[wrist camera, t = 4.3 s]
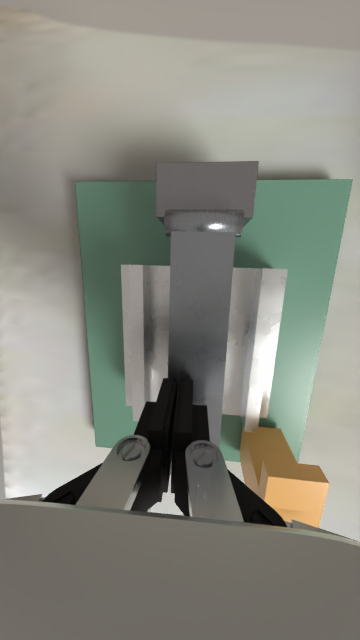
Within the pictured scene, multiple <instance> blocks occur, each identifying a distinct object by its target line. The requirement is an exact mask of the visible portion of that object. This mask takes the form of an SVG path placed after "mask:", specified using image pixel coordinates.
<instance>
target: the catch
mask: <svg viewBox="0 0 360 640" xmlns="http://www.w3.org/2000/svg"><path fill="white" fill-rule="evenodd" d="M239 456H240V461H241V466H242V471H243V476H244V481H245V485H246V486H247V487H249V488H250V489H251V490H252V491H253V492H254V493H256V494H257V495H258V496H259V497H260V498H261V499H263V500H264V501H265V502H266V503H267V504H268V505H270V506H271V507H272V508H273V509H274V510H275V511H276V512H277V513H278V514H279V515H280V516H281V517H282V518H283V520H284V521H287V522H290V523H291V519H293V520H296V521H299V522H302V523H305V524H308V525H311V526H314V527H317V528H319V524H320V520H321V516H322V512H323V508H324V503H325V499H326V495H327V491H328V487H329V482H328V480H327V479H326V477H325V475H324V474H323V472H322V470H321V468H320V467H319V466H316V465H306V464H298V463H297V461H296V459H295V457H294V455H293V453H292V451H291V449H290V447H289V445H288V443H287V441H286V439H285V437H284V435H283V433H282V431H281V429H279V428H268V427H258V431H257V433H255V432H245V431H244V428H243V427H242V436H241V445H240V454H239Z"/></svg>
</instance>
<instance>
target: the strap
mask: <svg viewBox="0 0 360 640" xmlns="http://www.w3.org/2000/svg"><path fill="white" fill-rule="evenodd" d="M243 226H244V210H199V209H166V210H165V215H164V228H165V235H166V236H171V256H170V300H169V344H168V378H171V379H173V381H177V396H178V389H179V382H183V380H184V379H188V380H193V404H194V405H207V411H208V423H209V436H210V442H212V443H213V444H215V445H216V446H217V447H218V448H219V444H220V431H221V418H222V405H223V392H224V379H225V366H226V353H227V340H228V327H229V313H230V300H231V287H232V274H233V261H234V248H235V237H241V235H242V232H243ZM176 403H177V400H176ZM171 466H172V461H171ZM170 474H171V469H170Z"/></svg>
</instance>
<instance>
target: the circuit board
mask: <svg viewBox="0 0 360 640" xmlns="http://www.w3.org/2000/svg"><path fill="white" fill-rule="evenodd" d="M352 180H353V179H321V180H257V183H256V193H255V203H254V213H253V218H252V219H251V220H250V221H249V222H248V223H247V224H246V225H245V226H244V227H243V232H242V235H241V237H235V248H234V261H233V268H271V269H288V272H287V279H286V286H285V293H284V300H283V307H282V314H281V321H280V328H279V335H278V342H277V350H276V357H275V364H274V371H273V378H272V385H271V392H270V399H269V406H268V413H267V418H261V417H259V424H258V427H268V428H279V429H281V431H282V433H283V435H284V437H285V439H286V441H287V443H288V445H289V447H290V449H291V451H292V453H293V455H294V457H295V459H296V461H297V463H298V461H299V456H300V451H301V445H302V440H303V435H304V430H305V425H306V419H307V414H308V409H309V404H310V399H311V393H312V388H313V383H314V378H315V373H316V367H317V362H318V357H319V352H320V347H321V341H322V336H323V331H324V326H325V321H326V315H327V310H328V305H329V300H330V295H331V289H332V284H333V279H334V274H335V269H336V264H337V258H338V253H339V248H340V243H341V238H342V232H343V227H344V222H345V217H346V212H347V206H348V201H349V196H350V191H351V186H352ZM75 188H76V200H77V213H78V226H79V239H80V251H81V264H82V277H83V290H84V302H85V315H86V328H87V341H88V353H89V366H90V379H91V392H92V405H93V417H94V430H95V443H96V447H106V448H113V447H114V446H115V444H116V443H117V442H118V441H119V440H121V439H122V438H124V437H126V436H130V435H134V432H135V429H136V427H137V424H138V421H133V407H132V406H126V392H125V365H124V338H123V310H122V283H121V265H152V266H170V256H171V236H166V235H165V228H164V225H163V224H162V223H161V221H160V220H159V219H158V218H157V217H156V181H101V182H75ZM242 427H243V425H242V421H241V417H240V416H238V415H227V414H222V418H221V431H220V444H219V449H220V450H221V452H222V454H223V458H224V460H226V461H235V462H241V461H240V456H239V454H240V445H241V436H242Z"/></svg>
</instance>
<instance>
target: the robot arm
mask: <svg viewBox="0 0 360 640" xmlns="http://www.w3.org/2000/svg"><path fill="white" fill-rule="evenodd" d="M176 400H177V403H176ZM171 461H172V466H171ZM170 469H171V493H175V503H176V505H177V506H178V507H179V509H180V510H181V511H182V512H183V516H181V515H171V514H162V513H152V512H150V511H151V507H152V506H153V505H154V504H155V503H157V502H161V500H162V494H163V492H166V493H167V491H168V484H169V476H170ZM0 640H360V542H358V541H356V540H353V539H350V538H347V537H344V536H341V535H338V534H335V533H332V532H329V531H326V530H323V529H320V528H317V527H314V526H311V525H308V524H305V523H302V522H299V521H296V520H293V519H291V523H290V522H287V521H284V520H283V518H282V517H281V516H280V515H279V514H278V513H277V512H276V511H275V510H274V509H273V508H272V507H271V506H270V505H268V504H267V503H266V502H265V501H264V500H263V499H261V498H260V497H259V496H258V495H257V494H256V493H254V492H253V491H252V490H251V489H250V488H249V487H247V486H246V485H245V484H244V483H243V482H242V481H240V480H239V479H238V478H237V477H236V476H235V475H233V474H232V473H231V472H230V471H229V470H228V469H227V467H226V464H225V461H224V458H223V454H222V452H221V450H220V449H219V448H218V447H217V446H216V445H215V444H213V443H212V442H210V436H209V423H208V411H207V405H194V404H193V380H188V379H184V380H183V382H179V389H178V396H177V381H173V379H171V378H163V381H162V384H161V387H160V391H159V394H158V397H157V400H156V402H150V401H147V402H146V403H145V406H144V408H143V411H142V413H141V416H140V419H139V421H138V424H137V427H136V429H135V432H134V435H130V436H126V437H124V438H122V439H121V440H119V441H118V442H117V443H116V444H115V446H114V447H113V449H112V450H111V452H110V453H109V455H108V456H107V458H106V459H105V461H104V462H103V463H101V464H100V465H98V466H96V467H94V468H93V469H91V470H89V471H87V472H86V473H84V474H82V475H80V476H78V477H77V478H75V479H73V480H71V481H70V482H68V483H66V484H64V485H63V486H61V487H59V488H57V489H56V490H54V491H53V492H51V493H50V494H49V495H48V496H47V497H45V498H42V494H39V495H32V496H24V497H17V498H10V499H0Z"/></svg>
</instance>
